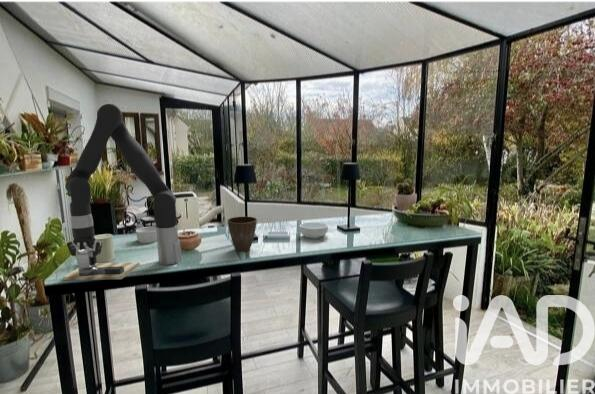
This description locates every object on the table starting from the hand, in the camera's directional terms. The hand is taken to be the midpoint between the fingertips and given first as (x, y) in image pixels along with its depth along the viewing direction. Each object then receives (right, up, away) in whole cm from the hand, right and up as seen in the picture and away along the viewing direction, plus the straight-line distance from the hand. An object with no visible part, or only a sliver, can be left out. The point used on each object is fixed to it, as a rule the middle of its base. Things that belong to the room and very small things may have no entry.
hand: (87, 264), depth 137 cm
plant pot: (+60, +1, +34) cm, 69 cm away
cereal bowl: (+98, +5, +55) cm, 113 cm away
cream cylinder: (-5, -2, +20) cm, 21 cm away
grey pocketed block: (0, 0, 0) cm, 0 cm away
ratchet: (+6, -4, +1) cm, 7 cm away
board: (+4, -4, +5) cm, 7 cm away
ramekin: (+3, +3, +51) cm, 51 cm away
